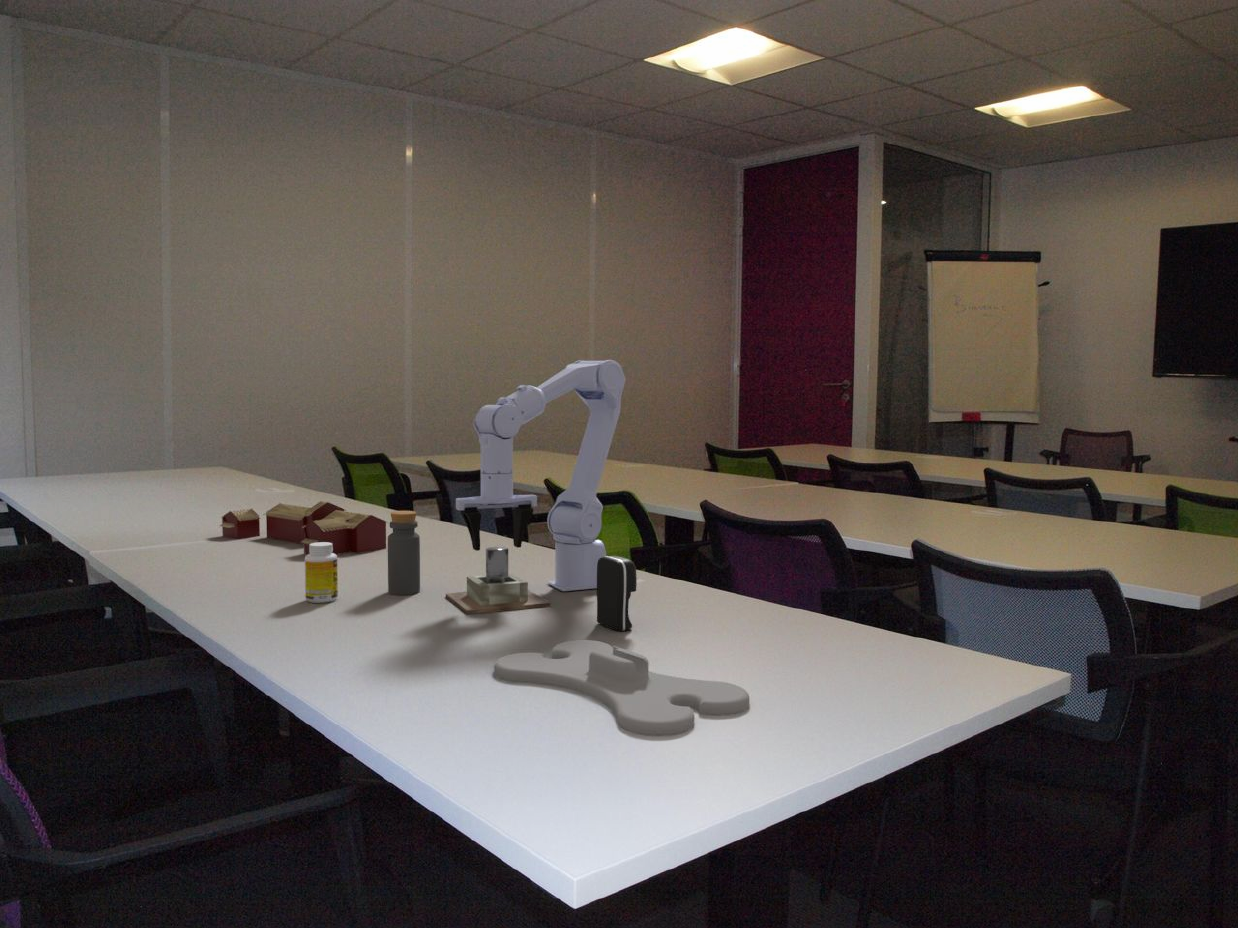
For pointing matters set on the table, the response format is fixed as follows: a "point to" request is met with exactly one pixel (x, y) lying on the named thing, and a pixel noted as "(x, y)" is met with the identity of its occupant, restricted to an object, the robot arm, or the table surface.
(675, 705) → the holder
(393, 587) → the bottle
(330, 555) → the supplement bottle
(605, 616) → the battery charger
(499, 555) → the peg
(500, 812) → the table surface
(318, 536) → the toy houses
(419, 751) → the table surface
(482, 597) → the socket
